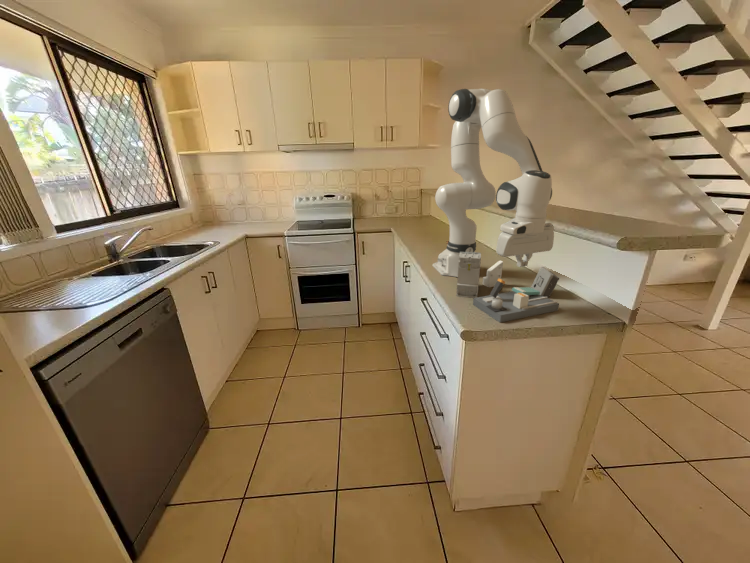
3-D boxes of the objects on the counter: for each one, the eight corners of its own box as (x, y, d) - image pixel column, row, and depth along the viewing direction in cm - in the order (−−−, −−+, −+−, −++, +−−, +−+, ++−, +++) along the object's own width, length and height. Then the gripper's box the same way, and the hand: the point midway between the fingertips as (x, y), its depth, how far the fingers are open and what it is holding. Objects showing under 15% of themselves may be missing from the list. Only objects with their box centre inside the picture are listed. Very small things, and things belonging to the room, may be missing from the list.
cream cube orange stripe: (512, 305, 101) (514, 293, 99) (520, 303, 102) (522, 291, 100) (519, 308, 98) (521, 296, 97) (527, 307, 99) (529, 295, 98)
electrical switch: (530, 288, 120) (536, 265, 117) (544, 289, 120) (550, 267, 117) (539, 298, 112) (546, 274, 108) (554, 299, 111) (561, 275, 108)
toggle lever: (489, 294, 105) (498, 278, 104) (492, 296, 106) (502, 280, 105) (492, 296, 104) (502, 279, 103) (496, 298, 104) (505, 281, 103)
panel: (472, 304, 108) (473, 296, 107) (526, 295, 114) (527, 286, 113) (499, 322, 95) (500, 313, 94) (557, 310, 102) (559, 301, 101)
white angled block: (509, 277, 125) (503, 261, 121) (490, 292, 124) (483, 276, 120) (503, 275, 128) (496, 259, 124) (484, 289, 127) (477, 273, 123)
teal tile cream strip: (521, 295, 105) (522, 291, 105) (511, 290, 109) (512, 287, 109) (539, 294, 108) (540, 291, 107) (529, 289, 112) (530, 287, 111)
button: (489, 306, 100) (490, 299, 99) (497, 304, 101) (498, 297, 100) (495, 310, 97) (496, 303, 96) (504, 308, 98) (505, 301, 97)
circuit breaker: (476, 284, 126) (480, 248, 121) (477, 297, 113) (481, 258, 108) (457, 282, 128) (460, 247, 123) (456, 296, 115) (458, 257, 110)
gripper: (546, 220, 104) (539, 259, 109) (496, 225, 98) (490, 266, 103) (562, 224, 98) (553, 265, 104) (510, 230, 92) (503, 273, 98)
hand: (521, 266), depth 103 cm, fingers closed
